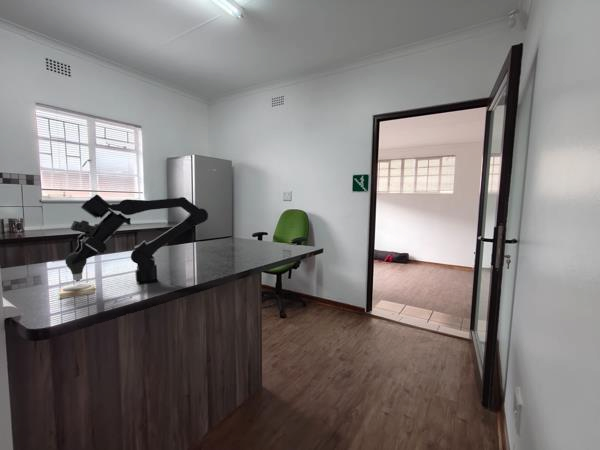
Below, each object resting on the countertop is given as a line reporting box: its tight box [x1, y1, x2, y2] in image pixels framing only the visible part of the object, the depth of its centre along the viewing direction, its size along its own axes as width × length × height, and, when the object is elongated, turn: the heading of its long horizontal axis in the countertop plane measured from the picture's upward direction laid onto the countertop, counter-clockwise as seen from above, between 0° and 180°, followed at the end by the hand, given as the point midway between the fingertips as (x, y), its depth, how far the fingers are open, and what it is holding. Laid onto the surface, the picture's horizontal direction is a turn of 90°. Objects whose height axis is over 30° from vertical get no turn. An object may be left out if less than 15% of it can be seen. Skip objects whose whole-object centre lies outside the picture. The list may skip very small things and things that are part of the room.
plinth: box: [59, 282, 96, 299], centre depth 94 cm, size 9×9×2 cm
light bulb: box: [64, 251, 88, 282], centre depth 93 cm, size 6×6×10 cm
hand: (71, 262), depth 92 cm, fingers closed on light bulb, 6 cm apart
